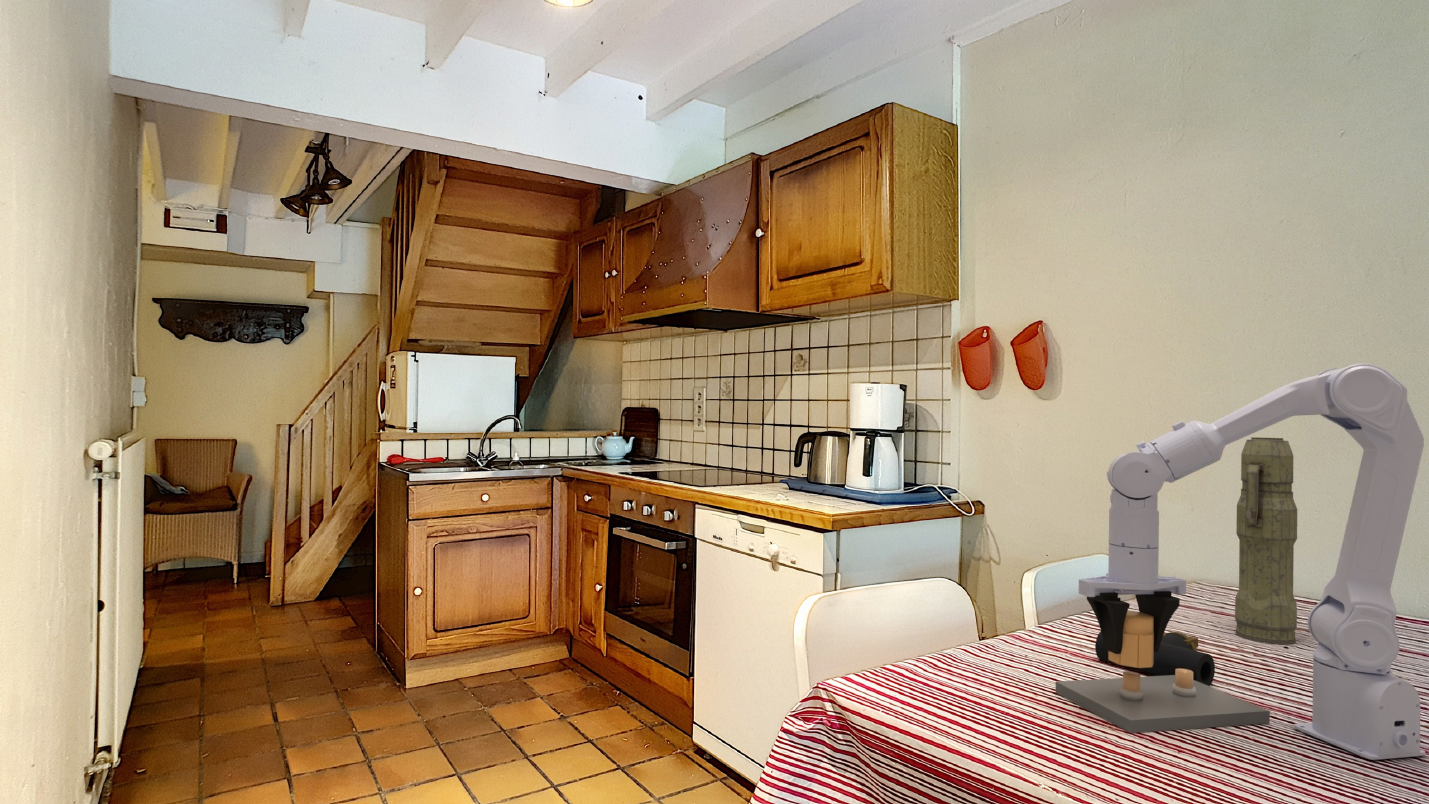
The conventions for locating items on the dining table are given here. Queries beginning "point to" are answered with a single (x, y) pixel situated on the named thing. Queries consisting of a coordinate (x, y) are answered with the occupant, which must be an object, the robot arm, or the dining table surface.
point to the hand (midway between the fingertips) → (1131, 650)
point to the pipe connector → (1172, 657)
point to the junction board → (1160, 702)
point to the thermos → (1266, 543)
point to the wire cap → (1136, 641)
